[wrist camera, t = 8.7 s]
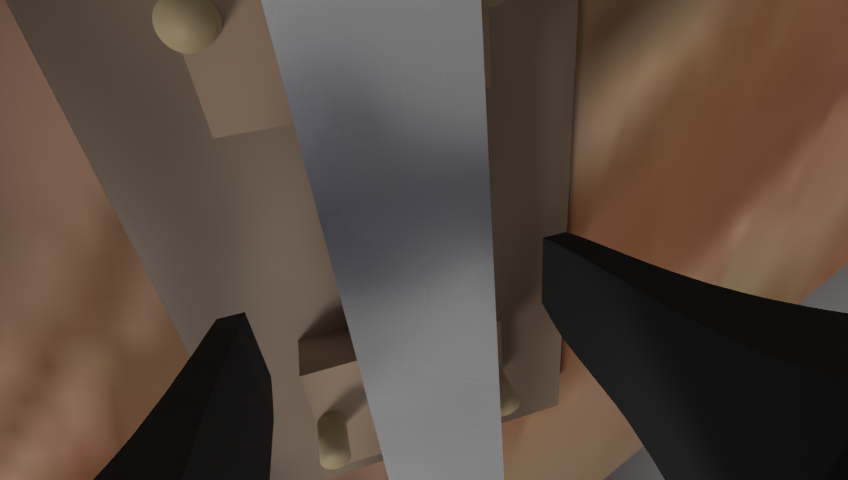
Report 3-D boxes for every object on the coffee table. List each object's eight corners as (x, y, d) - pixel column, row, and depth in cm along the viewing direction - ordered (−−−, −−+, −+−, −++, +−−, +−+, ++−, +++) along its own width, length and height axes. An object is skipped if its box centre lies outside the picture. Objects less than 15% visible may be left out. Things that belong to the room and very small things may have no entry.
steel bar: (453, 412, 18) (506, 546, 14) (383, 434, 17) (415, 579, 13) (389, -95, 10) (473, -156, 5) (252, -80, 9) (226, -132, 5)
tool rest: (264, 473, 21) (260, 581, 17) (-107, -281, 9) (-408, -483, 5) (546, 386, 23) (597, 465, 20) (567, -305, 11) (716, -455, 7)
